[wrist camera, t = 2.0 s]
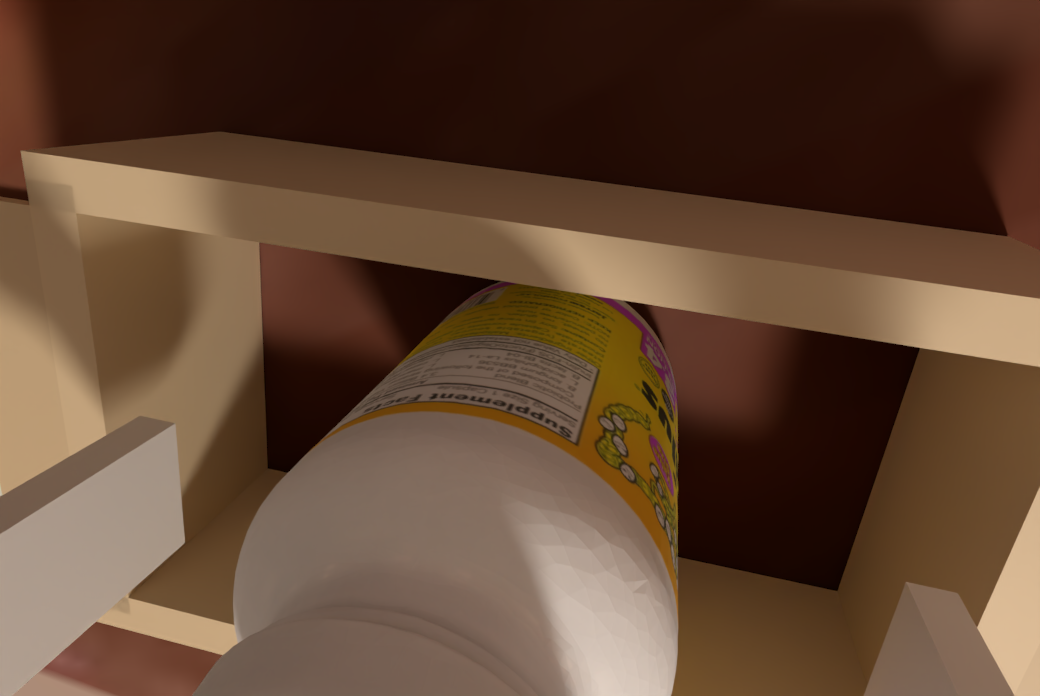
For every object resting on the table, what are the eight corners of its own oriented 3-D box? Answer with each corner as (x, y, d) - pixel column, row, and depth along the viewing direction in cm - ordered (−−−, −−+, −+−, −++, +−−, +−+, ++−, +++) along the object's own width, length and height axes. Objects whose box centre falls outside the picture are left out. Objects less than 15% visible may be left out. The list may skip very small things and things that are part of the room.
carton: (152, 122, 18) (-72, 137, 13) (1111, 250, 15) (1366, 345, 9) (184, 476, 23) (24, 602, 17) (942, 645, 19) (1051, 874, 13)
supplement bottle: (651, 517, 19) (609, 1176, 8) (426, 466, 20) (84, 981, 9) (704, 290, 17) (762, 749, 5) (444, 244, 18) (0, 543, 6)
